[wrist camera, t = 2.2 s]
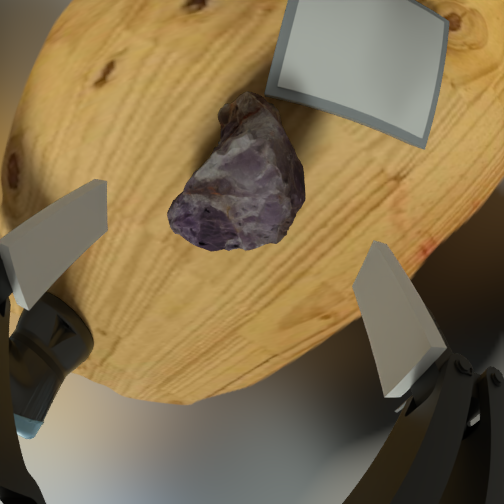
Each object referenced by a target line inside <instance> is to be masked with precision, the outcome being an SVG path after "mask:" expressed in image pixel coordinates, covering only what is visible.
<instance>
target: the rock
mask: <svg viewBox="0 0 504 504" xmlns="http://www.w3.org/2000/svg"><path fill="white" fill-rule="evenodd" d="M218 119H219V122H220V124H221V140H220V142H218V144H219V145H218V146H217V147H215V148H214V151H213V153H212V154H211V156H210V158H209V159H208V160H207V161H206V162H205V163H204V164H203V165H202V166H201V167H200V168H199V169H198V170H197V171H195V172H194V173H193V175H192V177H191V178H190V179H189V181H188V182H187V183H186V185H185V188H184V191H183V192H182V193H181V194H179V195H178V196H177V197H176V199H175V200H173V202H172V204H171V206H170V208H169V210H168V212H167V216H168V220H169V224H170V227H171V229H172V230H173V232H174V233H175V234H180V235H181V236H182V237H183V238H184V239H186V240H187V241H189V242H190V243H192V244H193V245H195V246H197V247H200V248H204V249H206V250H209V251H218V250H222V249H225V250H228V251H230V250H232V249H237V248H240V249H244V250H245V251H246V250H252V249H255V248H258V247H260V246H262V245H265V244H268V243H274V244H277V243H278V242H280V241H281V240H282V239H283V237H284V236H286V235H287V230H289V227H290V226H291V225H292V223H293V221H294V218H295V217H296V213H297V212H298V211H299V209H300V208H301V207H302V205H303V203H304V201H305V183H304V171H303V166H302V164H301V162H300V160H299V159H298V158H297V156H296V153H295V150H294V148H293V146H292V145H291V143H290V141H289V138H288V137H287V135H286V133H285V131H284V129H283V127H282V123H281V118H280V114H279V111H278V110H277V109H276V107H275V106H274V105H273V104H272V103H268V102H267V101H266V100H265V99H264V98H263V97H262V96H260V95H258V94H256V93H253V92H245V93H243V94H241V95H240V96H239V97H238V98H237V99H236V100H235V101H234V102H232V103H231V104H225V105H224V106H223V107H222V108H221V109H220V111H219V113H218Z"/></svg>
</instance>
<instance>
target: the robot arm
mask: <svg viewBox="0 0 504 504" xmlns="http://www.w3.org/2000/svg"><path fill="white" fill-rule="evenodd" d="M107 231H108V225H107V181H104V180H98V179H94V180H92V181H90V182H89V183H87V184H85V185H83V186H81V187H79V188H78V189H76V190H74V191H72V192H71V193H69V194H67V195H65V196H64V197H62V198H60V199H59V200H57V201H55V202H54V203H52V204H51V205H49V206H47V207H46V208H44V209H43V210H41V211H40V212H38V213H37V214H35V215H34V216H32V217H31V218H29V219H28V220H26V221H25V222H23V223H22V224H20V225H19V226H18V227H16V228H15V229H13V230H12V231H11V232H9V233H8V234H7V235H5V236H4V237H3V238H1V239H0V500H1V501H2V502H3V504H46V503H45V500H44V498H43V495H42V493H41V491H40V489H39V486H38V485H37V483H36V481H35V480H34V479H33V477H32V476H31V475H30V474H29V472H28V471H27V469H26V466H25V464H24V460H23V457H22V453H21V449H20V444H19V440H18V435H19V436H21V437H23V438H25V439H32V438H34V437H35V435H36V434H37V432H38V430H39V429H40V427H41V425H42V424H43V423H44V419H45V416H46V414H47V412H48V410H49V408H50V406H51V404H52V402H53V400H54V398H55V396H56V394H57V392H58V390H59V388H60V386H61V384H62V383H63V381H64V379H65V377H66V376H67V375H68V374H69V373H71V372H72V371H73V370H74V369H76V368H77V367H78V366H79V365H80V364H81V363H82V362H84V361H85V360H86V359H87V358H88V357H89V355H90V353H91V352H92V350H93V339H92V337H91V334H90V332H89V330H88V329H87V327H86V326H85V324H84V323H83V321H82V320H81V319H80V318H79V317H78V315H77V314H76V313H75V312H74V311H73V310H72V309H71V308H70V307H69V306H67V305H66V304H65V303H64V302H63V301H61V300H60V299H58V298H57V297H55V296H53V295H52V294H49V293H47V292H46V291H47V290H48V289H49V288H50V286H51V285H52V284H53V283H54V282H55V281H56V280H57V279H58V278H59V277H60V276H61V275H62V274H63V273H64V272H65V271H66V270H67V269H68V268H69V267H70V266H71V265H72V264H73V263H74V262H75V261H76V260H77V259H78V258H79V257H80V256H81V255H82V254H83V253H84V252H85V251H86V250H87V249H88V248H89V247H90V246H91V245H92V244H93V243H94V242H96V241H97V240H98V239H99V238H100V237H101V236H102V235H103V234H104V233H105V232H107ZM352 287H353V290H354V293H355V296H356V299H357V302H358V305H359V308H360V311H361V314H362V317H363V321H364V324H365V327H366V330H367V334H368V337H369V340H370V344H371V347H372V351H373V354H374V358H375V362H376V365H377V369H378V373H379V377H380V381H381V384H382V389H383V393H384V397H401V396H402V395H403V394H404V393H405V392H406V391H407V390H408V389H409V388H410V387H411V391H412V394H413V395H412V396H411V397H410V398H409V399H407V400H406V401H405V402H404V403H403V404H402V405H401V406H400V407H398V408H397V410H396V411H395V412H398V411H400V410H401V409H403V410H402V412H401V414H400V416H399V418H398V420H397V422H396V424H395V425H394V427H393V429H392V431H391V433H390V434H389V436H388V438H387V440H386V441H385V443H384V445H383V447H382V448H381V450H380V451H379V453H378V455H377V456H376V458H375V459H374V461H373V462H372V464H371V465H370V467H369V468H368V470H367V472H366V473H365V474H364V476H363V477H362V478H361V480H360V481H359V483H358V484H357V485H356V487H355V488H354V489H353V491H352V492H351V493H350V495H349V496H348V497H347V498H346V500H345V501H344V502H343V503H342V504H504V378H503V376H502V373H501V372H500V371H499V370H497V369H496V368H494V367H491V366H490V367H488V368H487V369H486V370H485V371H484V372H483V373H482V374H481V375H480V374H477V373H474V370H473V368H472V366H471V364H470V362H469V361H468V360H467V359H466V358H465V357H464V356H462V355H460V354H456V353H454V354H452V351H451V349H450V347H449V345H448V343H447V341H446V339H445V337H444V335H443V333H442V331H441V330H440V327H439V325H438V323H437V322H436V320H435V318H434V316H433V314H432V312H431V311H430V310H429V309H428V308H427V307H426V305H424V303H423V301H422V300H421V298H420V296H419V295H418V293H417V291H416V289H415V288H414V286H413V284H412V283H411V281H410V279H409V278H408V276H407V275H406V273H405V271H404V270H403V268H402V267H401V265H400V264H399V262H398V260H397V259H396V257H395V256H394V254H393V253H392V251H391V250H390V248H389V247H388V245H387V244H384V243H381V242H377V241H373V243H372V245H371V247H370V250H369V252H368V254H367V256H366V258H365V261H364V263H363V265H362V267H361V269H360V271H359V273H358V275H357V277H356V279H355V282H354V284H353V286H352ZM12 292H13V294H14V297H15V300H16V302H17V304H18V305H20V306H21V307H23V308H24V309H23V311H22V313H21V316H20V318H19V321H18V324H17V326H16V329H15V331H14V332H13V334H12V335H11V336H10V338H9V318H10V306H11V304H10V300H9V295H10V294H11V293H12ZM478 414H480V420H479V421H478V422H477V423H475V424H474V425H473V426H471V425H470V421H471V420H472V419H473V418H475V417H476V416H477V415H478ZM17 434H18V435H17Z"/></svg>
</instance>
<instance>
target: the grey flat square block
mask: <svg viewBox="0 0 504 504" xmlns="http://www.w3.org/2000/svg"><path fill="white" fill-rule="evenodd" d="M448 32H449V21H448V20H446V19H445V18H443V17H442V16H440V15H439V14H437V13H436V12H434V11H432V10H431V9H429V8H427V7H426V6H424V5H422V4H420V3H419V2H417V1H415V0H288V3H287V6H286V10H285V14H284V18H283V21H282V25H281V29H280V33H279V37H278V41H277V45H276V49H275V53H274V57H273V61H272V65H271V69H270V73H269V77H268V81H267V85H266V89H265V93H264V94H265V96H266V97H271V98H275V99H280V100H284V101H288V102H292V103H296V104H300V105H303V106H307V107H310V108H314V109H317V110H321V111H324V112H327V113H330V114H333V115H337V116H340V117H343V118H345V119H348V120H351V121H354V122H357V123H359V124H362V125H365V126H367V127H370V128H373V129H375V130H378V131H380V132H382V133H385V134H387V135H390V136H392V137H394V138H396V139H399V140H401V141H403V142H405V143H407V144H410V145H413V146H416V147H418V148H421V149H424V150H425V147H426V143H427V140H428V136H429V133H430V129H431V126H432V122H433V118H434V114H435V110H436V105H437V101H438V96H439V92H440V87H441V82H442V76H443V70H444V64H445V57H446V50H447V42H448Z"/></svg>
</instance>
